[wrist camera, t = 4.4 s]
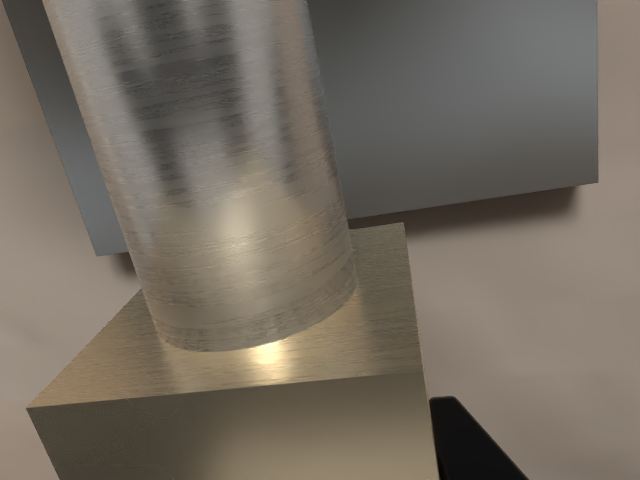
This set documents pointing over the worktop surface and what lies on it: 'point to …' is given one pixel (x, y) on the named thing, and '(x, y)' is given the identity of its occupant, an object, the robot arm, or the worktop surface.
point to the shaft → (232, 263)
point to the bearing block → (400, 102)
